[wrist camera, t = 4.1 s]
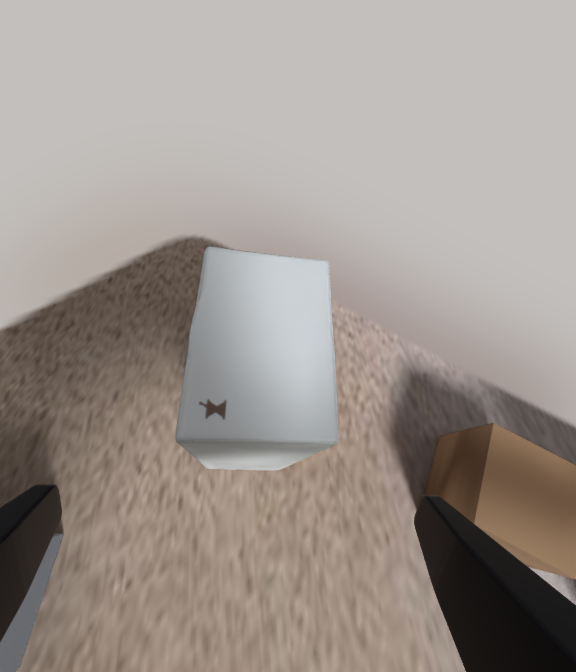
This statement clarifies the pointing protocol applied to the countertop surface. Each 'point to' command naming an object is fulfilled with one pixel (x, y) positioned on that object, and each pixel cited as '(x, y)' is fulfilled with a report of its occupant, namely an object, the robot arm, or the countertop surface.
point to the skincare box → (259, 363)
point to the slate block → (27, 612)
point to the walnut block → (511, 494)
